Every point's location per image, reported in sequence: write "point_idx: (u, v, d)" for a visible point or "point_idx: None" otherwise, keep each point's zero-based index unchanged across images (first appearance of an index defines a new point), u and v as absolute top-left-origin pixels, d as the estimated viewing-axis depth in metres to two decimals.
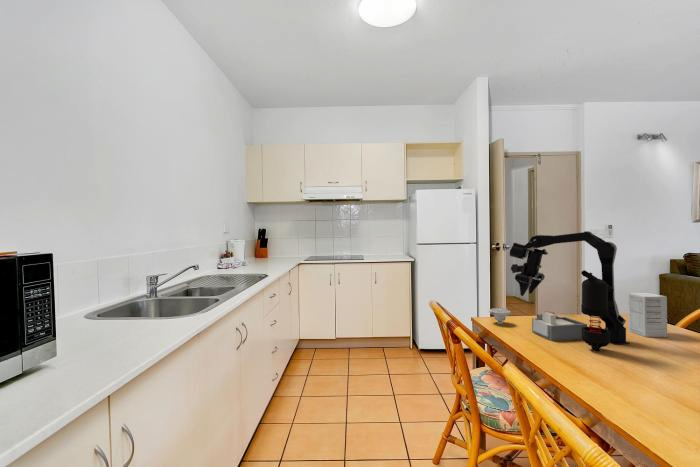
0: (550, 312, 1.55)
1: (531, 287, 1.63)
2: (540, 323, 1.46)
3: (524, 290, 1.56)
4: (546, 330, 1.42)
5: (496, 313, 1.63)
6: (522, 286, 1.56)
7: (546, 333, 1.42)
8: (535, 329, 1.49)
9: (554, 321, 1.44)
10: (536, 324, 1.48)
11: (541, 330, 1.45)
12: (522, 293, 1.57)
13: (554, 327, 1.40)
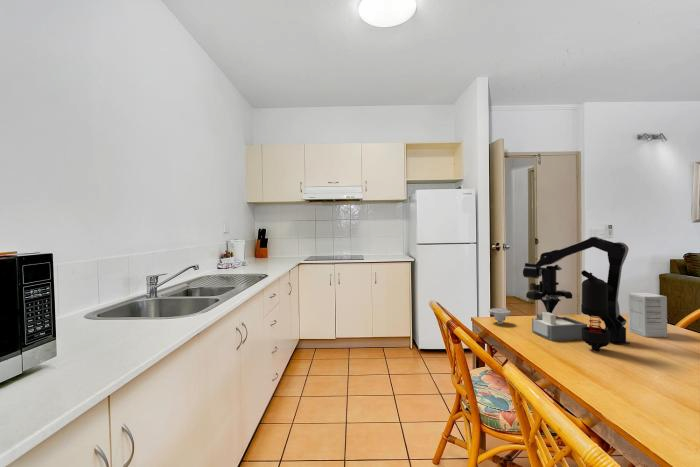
0: None
1: None
2: (540, 323, 1.46)
3: (548, 308, 1.55)
4: (546, 330, 1.42)
5: (496, 313, 1.63)
6: (546, 304, 1.56)
7: (546, 333, 1.42)
8: (535, 329, 1.49)
9: (554, 321, 1.44)
10: (536, 324, 1.48)
11: (541, 330, 1.45)
12: (548, 311, 1.55)
13: (554, 327, 1.40)
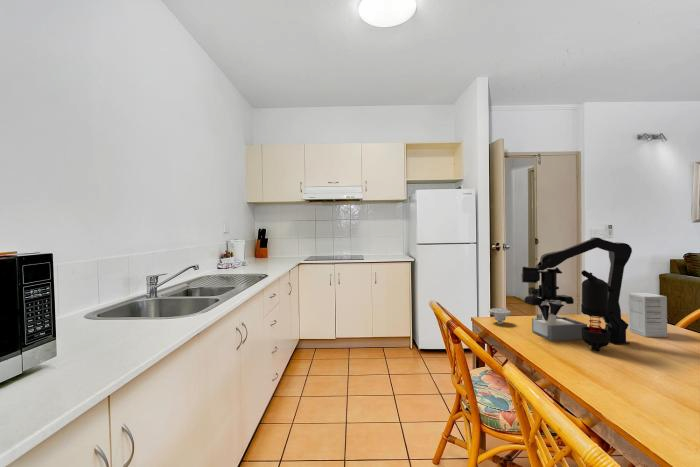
0: None
1: None
2: (540, 323, 1.46)
3: (545, 314, 1.45)
4: (546, 330, 1.42)
5: (496, 313, 1.63)
6: (543, 310, 1.46)
7: (546, 333, 1.42)
8: (535, 329, 1.49)
9: (554, 321, 1.44)
10: (536, 324, 1.48)
11: (541, 330, 1.45)
12: (545, 317, 1.46)
13: (554, 327, 1.40)
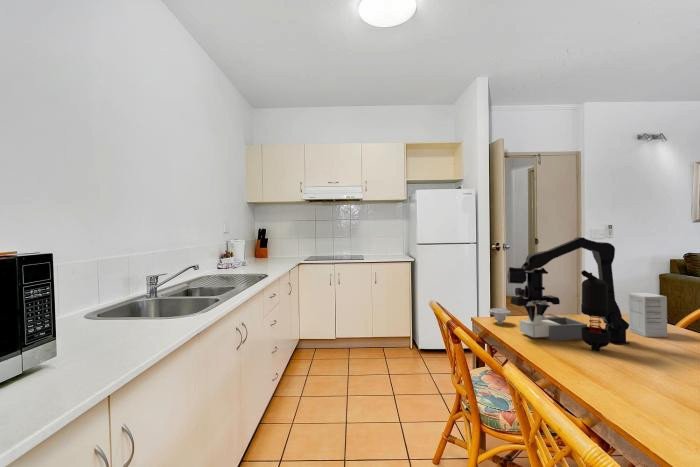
0: (550, 316, 1.56)
1: None
2: (526, 324, 1.45)
3: (531, 314, 1.44)
4: (532, 331, 1.41)
5: (496, 313, 1.63)
6: (529, 310, 1.45)
7: (532, 334, 1.41)
8: (521, 330, 1.48)
9: (540, 322, 1.43)
10: (522, 325, 1.47)
11: (527, 331, 1.44)
12: (531, 318, 1.45)
13: (554, 327, 1.40)
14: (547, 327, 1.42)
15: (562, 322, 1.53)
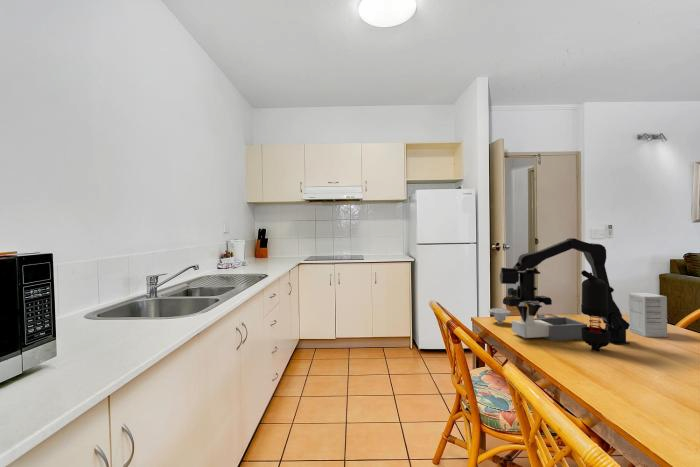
0: (550, 316, 1.56)
1: (530, 314, 1.46)
2: (518, 324, 1.44)
3: (523, 315, 1.44)
4: (524, 331, 1.41)
5: (496, 313, 1.63)
6: (521, 311, 1.45)
7: (524, 334, 1.41)
8: (514, 330, 1.48)
9: (532, 322, 1.43)
10: (514, 325, 1.47)
11: (519, 331, 1.44)
12: (523, 318, 1.45)
13: (554, 327, 1.40)
14: (539, 327, 1.41)
15: (562, 322, 1.53)
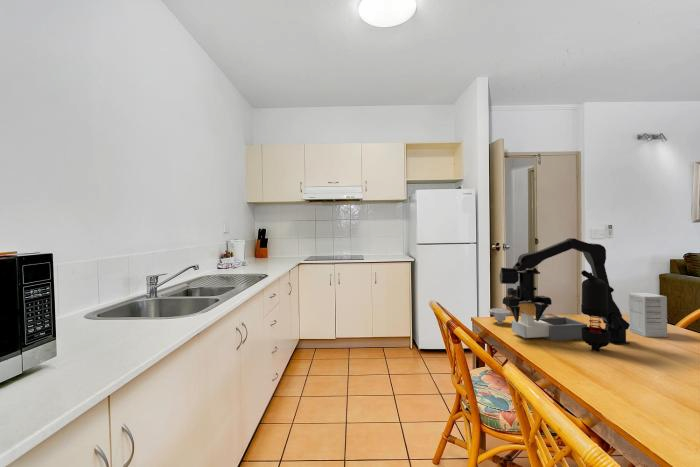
0: (550, 316, 1.56)
1: (537, 314, 1.46)
2: (518, 324, 1.44)
3: (515, 315, 1.44)
4: (523, 331, 1.41)
5: (496, 313, 1.63)
6: (513, 311, 1.45)
7: (523, 334, 1.41)
8: (513, 330, 1.48)
9: (532, 322, 1.43)
10: (514, 325, 1.47)
11: (519, 331, 1.44)
12: (515, 319, 1.44)
13: (554, 327, 1.40)
14: (539, 327, 1.41)
15: (562, 322, 1.53)
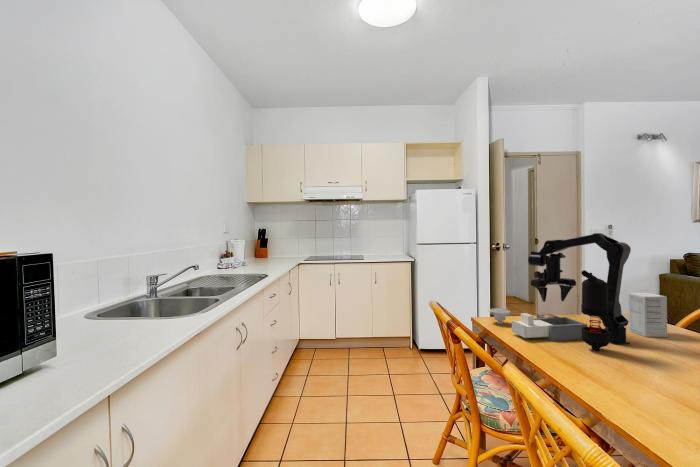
0: (550, 316, 1.56)
1: (562, 295, 1.59)
2: (518, 324, 1.44)
3: (543, 295, 1.57)
4: (523, 331, 1.41)
5: (496, 313, 1.63)
6: (541, 292, 1.58)
7: (523, 334, 1.41)
8: (513, 330, 1.48)
9: (532, 322, 1.43)
10: (514, 325, 1.47)
11: (519, 331, 1.44)
12: (543, 299, 1.58)
13: (554, 327, 1.40)
14: (539, 327, 1.41)
15: (562, 322, 1.53)
